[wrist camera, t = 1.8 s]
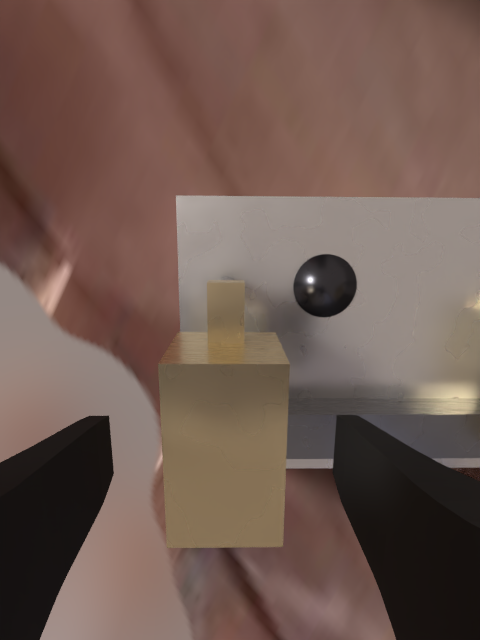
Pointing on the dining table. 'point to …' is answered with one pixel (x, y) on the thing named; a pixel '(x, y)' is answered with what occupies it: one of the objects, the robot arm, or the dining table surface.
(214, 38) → the dining table surface
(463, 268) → the plate
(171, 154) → the dining table surface
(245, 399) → the leg
